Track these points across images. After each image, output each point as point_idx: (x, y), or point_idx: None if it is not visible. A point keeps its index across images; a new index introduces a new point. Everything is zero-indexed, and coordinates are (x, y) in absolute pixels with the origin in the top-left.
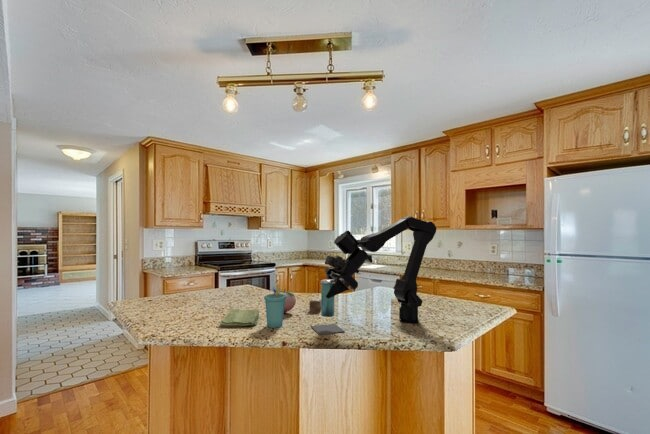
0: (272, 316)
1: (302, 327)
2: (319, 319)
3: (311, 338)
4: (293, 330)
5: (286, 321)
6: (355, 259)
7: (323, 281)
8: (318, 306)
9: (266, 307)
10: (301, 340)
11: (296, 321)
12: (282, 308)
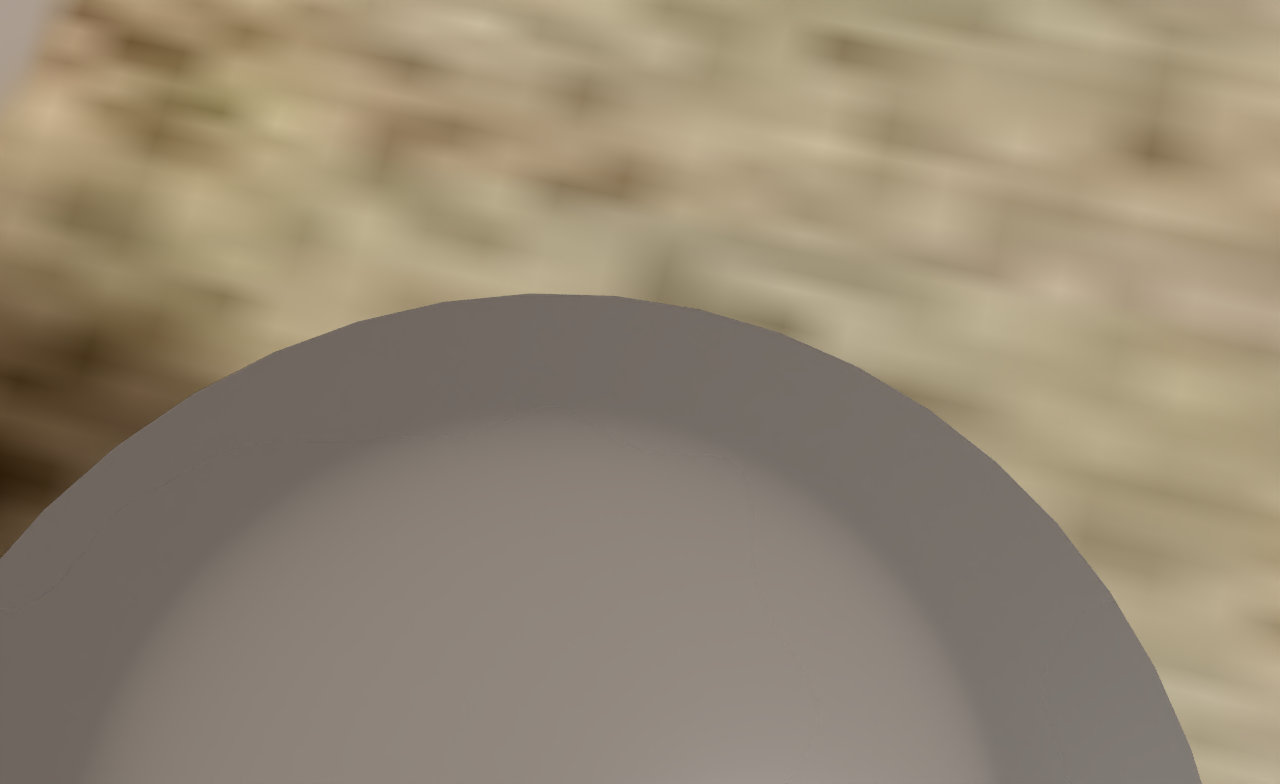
0: None
1: (791, 213)
2: (1267, 667)
3: (109, 232)
4: (647, 21)
5: (1226, 2)
6: None
7: (178, 421)
8: None
9: None
10: (57, 43)
11: (1197, 181)
12: None
